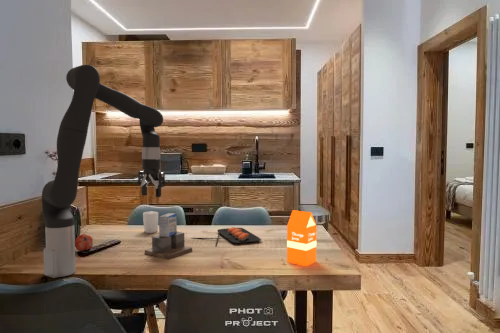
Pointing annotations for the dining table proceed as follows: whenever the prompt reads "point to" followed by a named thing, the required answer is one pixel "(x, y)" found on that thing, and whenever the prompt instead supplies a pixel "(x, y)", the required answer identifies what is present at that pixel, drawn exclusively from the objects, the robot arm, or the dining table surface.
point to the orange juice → (301, 238)
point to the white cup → (150, 221)
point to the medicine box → (167, 225)
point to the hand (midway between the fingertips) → (151, 196)
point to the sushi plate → (236, 235)
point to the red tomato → (83, 242)
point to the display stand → (168, 246)
